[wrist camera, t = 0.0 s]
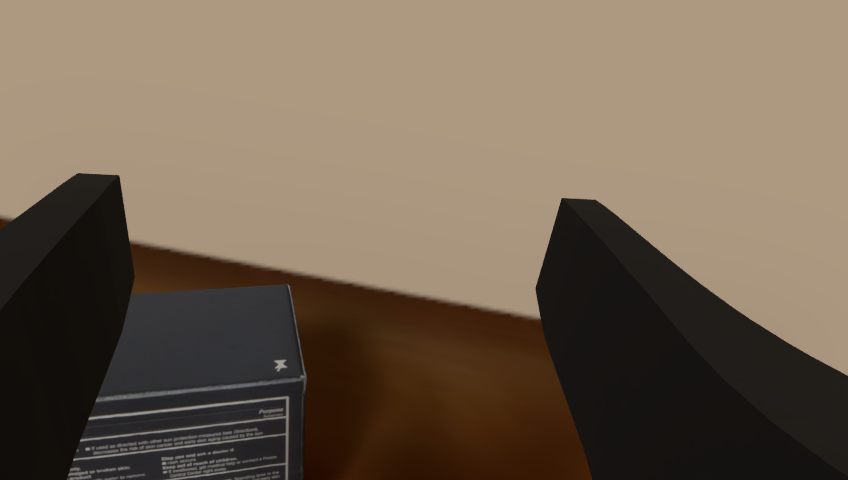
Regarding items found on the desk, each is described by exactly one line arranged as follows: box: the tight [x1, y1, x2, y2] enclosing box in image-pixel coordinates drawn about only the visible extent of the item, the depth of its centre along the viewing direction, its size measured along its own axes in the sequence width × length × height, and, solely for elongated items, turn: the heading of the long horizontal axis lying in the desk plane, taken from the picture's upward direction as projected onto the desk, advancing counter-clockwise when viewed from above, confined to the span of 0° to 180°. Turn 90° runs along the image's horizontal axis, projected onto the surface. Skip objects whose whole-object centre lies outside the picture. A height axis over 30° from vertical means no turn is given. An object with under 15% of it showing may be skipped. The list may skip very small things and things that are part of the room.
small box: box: [67, 285, 307, 480], centre depth 29 cm, size 11×6×10 cm, turn 105°
